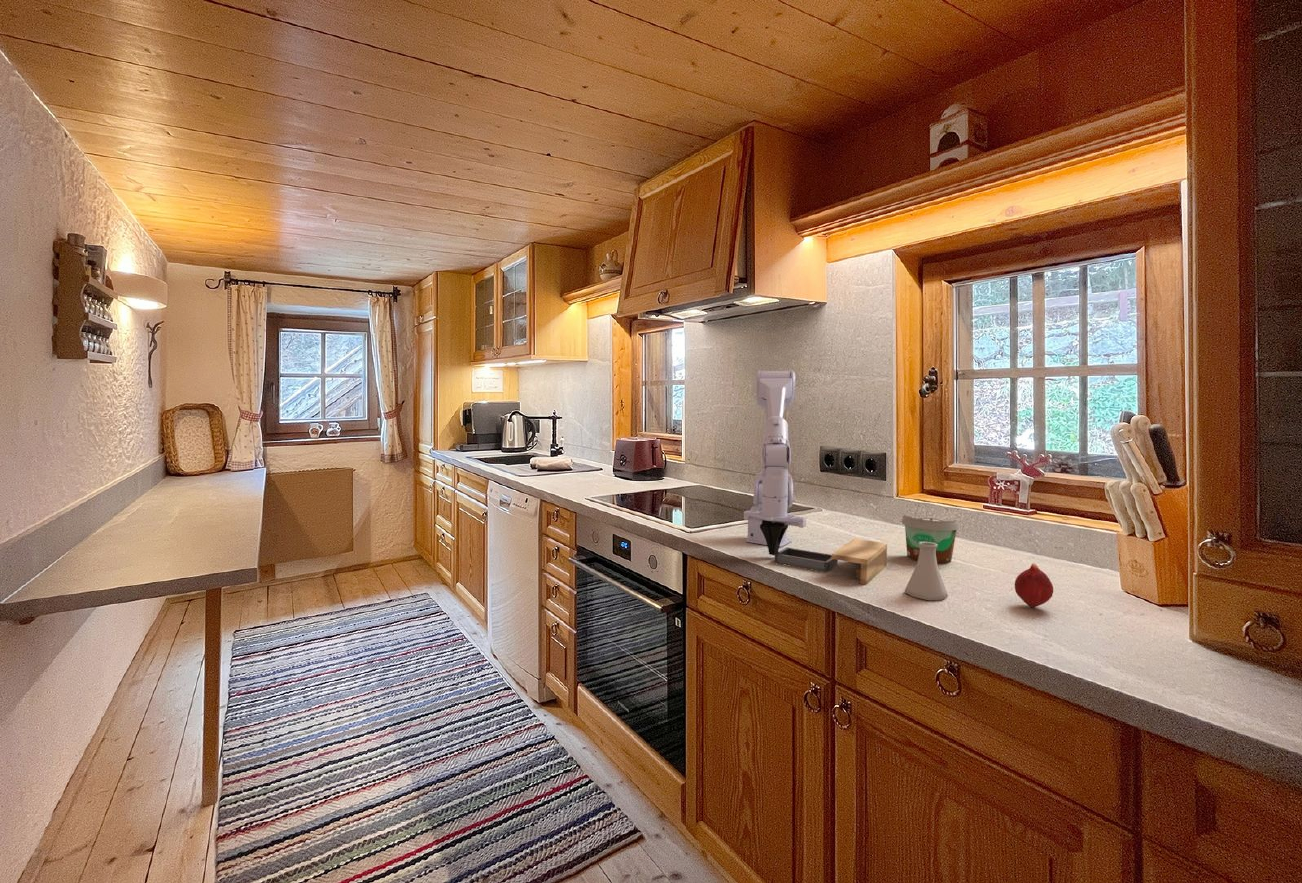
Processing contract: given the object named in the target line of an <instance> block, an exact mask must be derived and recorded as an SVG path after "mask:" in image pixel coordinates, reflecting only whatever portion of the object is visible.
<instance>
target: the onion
mask: <svg viewBox="0 0 1302 883" xmlns="http://www.w3.org/2000/svg"><path fill="white" fill-rule="evenodd" d="M1014 591H1015V593H1016V595H1017V596H1018V597H1019V598H1020V599H1021V601H1023V602H1024V603H1025V605H1027V606H1028V607H1030V608H1037V607H1039V606H1042V605H1044V604H1045V603H1047V602H1048V601H1050V600H1051V598H1052V597H1053V596H1054V595H1053V594H1054V585H1053V583H1052V581H1051V579H1050V578H1049V576H1048V575H1047V574H1046V573H1045V572H1044V571H1043V570H1041V569H1040V568H1039V566H1037V564H1036V563H1035V562H1031V565H1030V567H1029V568H1027V569H1025V570H1023V571H1021V573H1019V574H1018V575H1017V576H1016V578H1015V580H1014Z"/></svg>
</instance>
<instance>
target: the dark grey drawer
mask: <svg viewBox="0 0 1302 883" xmlns="http://www.w3.org/2000/svg"><path fill="white" fill-rule="evenodd" d="M831 555H832V554H831V553H829V554H828V553H824V552H818V551H817V552H816V551H813V550H804V549H799V548H791V547H785V548H783V549H781V550H780V551H779V550H778V552H777V553H776V554H775V555H774V564H776V563H777V564H778V565H782V564H786V565H785V566H787V565H790V566H789V567H793V566H794V568H798V567H799V569H800V568H801V569H804V568H807V569H806V570H810V569H813V570H812V571H815V570H817V572H821V571H822V572H821V573H826V574H827V573H829V572H830V571H832V570H833V569H834V568H835V567H837V566H839V565H838V564H839V563H838V562H839V560H836V559H831ZM777 564H776V565H777ZM832 568H833V569H832ZM831 569H832V570H831Z"/></svg>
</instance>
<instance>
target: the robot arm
mask: <svg viewBox="0 0 1302 883" xmlns="http://www.w3.org/2000/svg"><path fill="white" fill-rule="evenodd" d="M795 391H796V373H795V371H794V370H793V369H792V370H758V371H757V372H756V373H755V400H756V402H757V403H756V404H757V405H758V406H759V407H761V408H763V410H764V414H765V420H764V422H763V425H762V429H763V430H762V435H763V440H762V444H763V445H762V446H761V447H760V448H761V449H760V455H761V456H760V457H761V458H760V467H761V471H760V472H758V473H757V474H756V475H755V477H754V483H753V504H754V505H753V506H751V508H750V509H749V510H745V511H743V520H745V521H747V539H746V540H745V542H746V543H751V544H757V545H758V544H759V545H765V546H767V550H768V554H769V555H770V556H775V554H776V553H777V552H779V549H780V548H782V547H783V546H786V545H787V544H789V543H791V542H793V539H791V538H787V534H788V528H789V526H792V527H798V528H799V529H800V528H801V529H803V528H806V527H807V517H801V516H796V515H793V514H788V510H789V508H792V506H793V504H794V485H793V483H794V482H793V478H792V475H790V474H789V470H790V467H791V463H792V462H791V458H792V456H791V455H792V451H791V445H790V440H789V425H788V424H789V423H788V422H787V420H785V418H783V417H784V412H785V409H786V408H787V407H790V406H791V405H793V401H794V399H795V398H794V397H795Z"/></svg>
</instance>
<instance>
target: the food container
mask: <svg viewBox="0 0 1302 883" xmlns="http://www.w3.org/2000/svg"><path fill="white" fill-rule="evenodd" d="M901 523H902V525H904V531H905V546H906V557H907V558H908V559H909V560H912V561H913V562H914V561H915V562H918V558H919V554H920V546H918V543H920V542H932V543H935V544H938V547H937V548H936V560H937V565H948V564H950V563H951V562H952V560H953V559H952V558H953V554H954V547H955V541H956V536H957V530H959V529H961V524H960V521H959V518H957V519H955V520H954V519H953V520H941V519H936V518H931V517H923V518H915V517H911V516H908V515H906V514H905V513H904V514H903V516H902V519H901Z"/></svg>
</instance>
